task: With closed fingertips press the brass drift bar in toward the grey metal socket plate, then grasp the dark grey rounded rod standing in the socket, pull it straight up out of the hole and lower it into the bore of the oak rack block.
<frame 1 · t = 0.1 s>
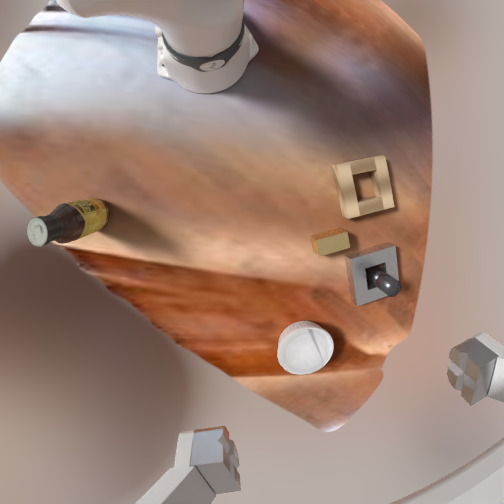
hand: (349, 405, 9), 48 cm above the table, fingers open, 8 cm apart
ramekin: (300, 339, 62), on the table
socket plate: (370, 271, 60), on the table
rack block: (360, 185, 55), on the table
dark grey rounded rod: (381, 279, 55), in the socket plate
sauce bottle: (96, 213, 53), on the table
drift bar: (330, 241, 55), point 2 cm above the table, slide at 0.0 cm
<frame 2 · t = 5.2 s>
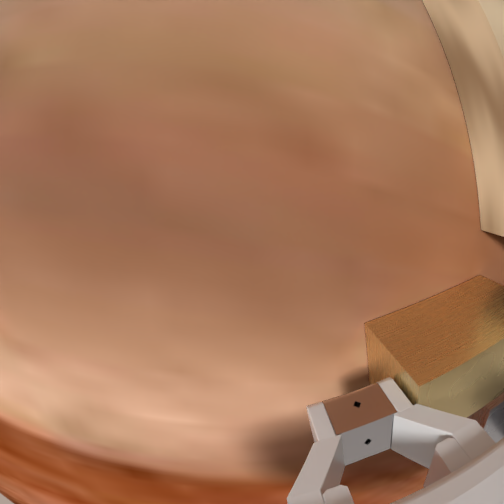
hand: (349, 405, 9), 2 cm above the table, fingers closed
socket plate: (501, 398, 13), on the table
drift bar: (456, 351, 9), point 2 cm above the table, slide at 0.9 cm, touching gripper
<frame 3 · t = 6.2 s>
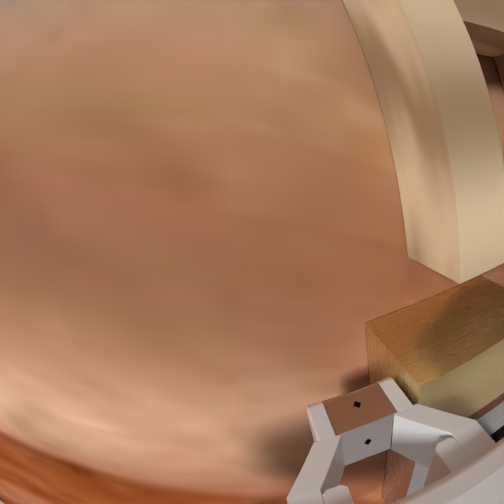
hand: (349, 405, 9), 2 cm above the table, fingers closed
socket plate: (456, 428, 13), on the table
rack block: (477, 109, 9), on the table
drift bar: (456, 352, 9), point 2 cm above the table, slide at 5.0 cm, touching gripper
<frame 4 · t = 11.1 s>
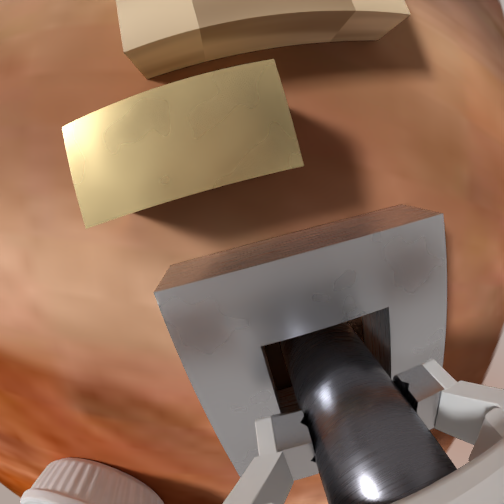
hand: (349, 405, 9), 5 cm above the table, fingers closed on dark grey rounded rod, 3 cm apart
ramekin: (107, 488, 16), on the table
socket plate: (315, 339, 13), on the table
dark grey rounded rod: (353, 412, 8), in the socket plate, touching gripper
drift bar: (184, 146, 9), point 2 cm above the table, slide at 5.0 cm
when the fingers open (6 cm above the table, at t = 17.1 s): dark grey rounded rod drops 1 cm, resting in rack block.
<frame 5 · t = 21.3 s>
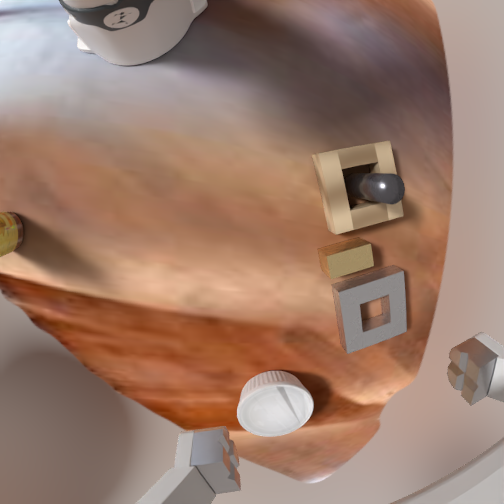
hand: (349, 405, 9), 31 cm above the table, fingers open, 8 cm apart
ramekin: (271, 390, 45), on the table
socket plate: (367, 305, 43), on the table
rack block: (355, 185, 38), on the table
dark grey rounded rod: (371, 186, 34), in the rack block
sauce bottle: (11, 230, 36), on the table
drift bar: (345, 257, 38), point 2 cm above the table, slide at 5.0 cm
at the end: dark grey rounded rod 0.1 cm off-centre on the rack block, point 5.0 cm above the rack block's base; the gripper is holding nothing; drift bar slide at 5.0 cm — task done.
